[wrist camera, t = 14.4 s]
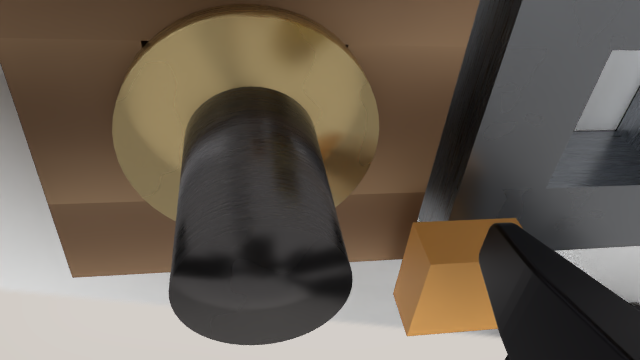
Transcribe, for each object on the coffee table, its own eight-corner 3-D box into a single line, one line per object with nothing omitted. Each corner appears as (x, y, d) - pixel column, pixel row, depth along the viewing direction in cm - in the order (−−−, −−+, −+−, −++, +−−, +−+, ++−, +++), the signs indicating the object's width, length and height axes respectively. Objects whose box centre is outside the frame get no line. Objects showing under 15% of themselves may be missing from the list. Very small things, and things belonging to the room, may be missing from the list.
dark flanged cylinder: (337, 152, 17) (402, 372, 11) (149, 156, 16) (104, 402, 10) (361, -36, 13) (484, 139, 7) (118, -46, 12) (11, 146, 6)
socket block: (646, 188, 20) (700, 242, 18) (409, 196, 19) (436, 257, 16) (821, -87, 14) (938, -58, 12) (489, -113, 12) (550, -85, 10)
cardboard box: (484, 287, 16) (505, 328, 15) (393, 293, 15) (406, 336, 14) (516, 218, 14) (541, 258, 13) (413, 222, 13) (430, 264, 12)
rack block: (383, 197, 18) (406, 258, 16) (93, 207, 17) (72, 277, 14) (451, -115, 12) (504, -88, 10) (-1, -151, 10) (-64, -127, 8)
